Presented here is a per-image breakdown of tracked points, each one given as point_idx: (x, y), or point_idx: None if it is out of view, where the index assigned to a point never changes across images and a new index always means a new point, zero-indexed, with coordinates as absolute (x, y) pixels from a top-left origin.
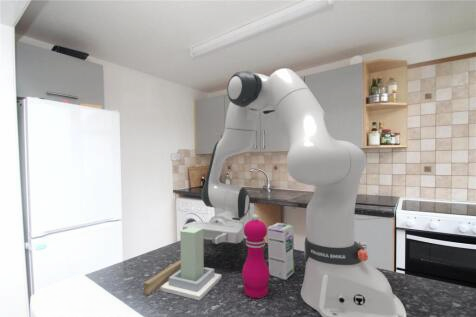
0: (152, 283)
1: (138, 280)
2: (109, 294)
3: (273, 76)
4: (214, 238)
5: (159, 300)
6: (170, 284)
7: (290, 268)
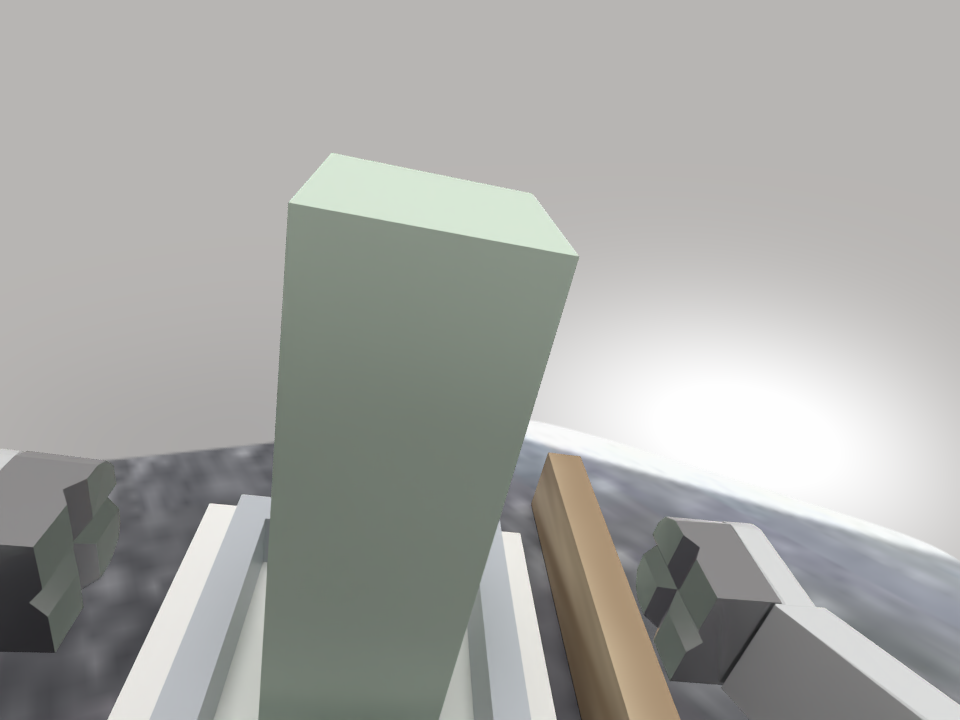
0: (550, 484)
1: None
2: (694, 481)
3: None
4: (54, 455)
5: None
6: None
7: None
